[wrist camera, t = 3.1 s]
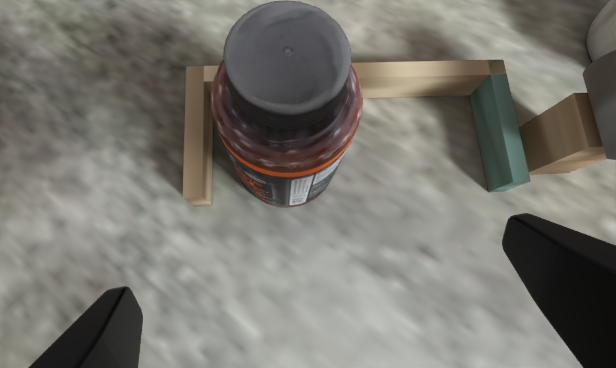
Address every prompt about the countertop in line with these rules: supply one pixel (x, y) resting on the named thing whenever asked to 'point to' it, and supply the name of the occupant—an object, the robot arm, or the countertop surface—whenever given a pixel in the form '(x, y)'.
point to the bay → (378, 84)
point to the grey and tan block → (576, 125)
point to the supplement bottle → (286, 101)
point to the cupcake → (602, 32)
